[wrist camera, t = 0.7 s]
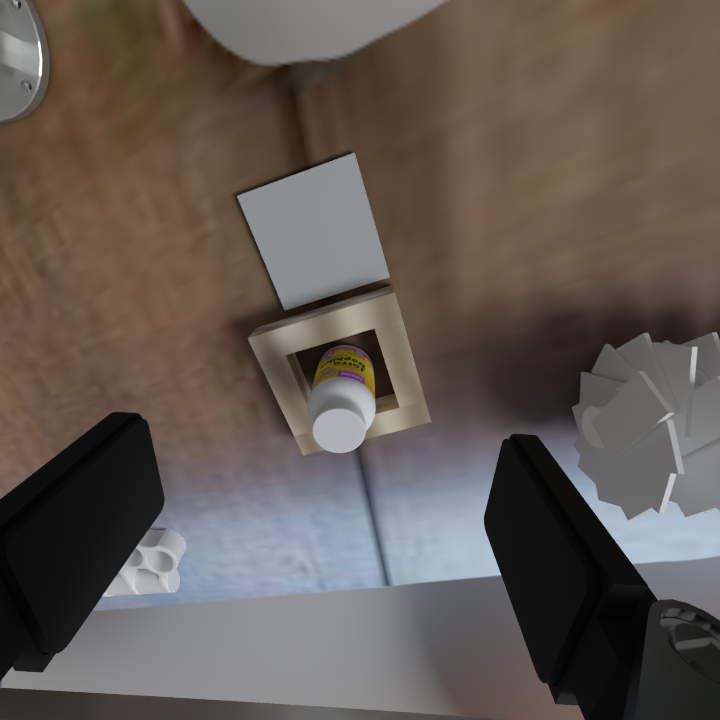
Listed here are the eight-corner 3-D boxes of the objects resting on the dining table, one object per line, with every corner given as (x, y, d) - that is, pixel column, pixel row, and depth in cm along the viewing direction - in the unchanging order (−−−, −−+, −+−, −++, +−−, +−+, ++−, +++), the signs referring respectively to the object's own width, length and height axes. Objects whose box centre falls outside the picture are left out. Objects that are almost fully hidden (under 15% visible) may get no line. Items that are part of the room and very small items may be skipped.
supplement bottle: (373, 343, 41) (379, 398, 29) (372, 393, 44) (377, 462, 32) (316, 342, 41) (298, 398, 29) (318, 392, 44) (303, 462, 32)
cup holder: (307, 438, 46) (303, 455, 43) (256, 327, 40) (247, 338, 37) (426, 406, 44) (431, 422, 41) (391, 284, 38) (394, 292, 35)
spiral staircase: (709, 393, 48) (528, 403, 47) (840, 288, 35) (592, 301, 34) (834, 538, 36) (595, 555, 36) (1108, 465, 23) (734, 490, 22)
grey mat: (285, 309, 39) (284, 310, 39) (238, 196, 35) (236, 195, 34) (389, 276, 38) (389, 277, 37) (354, 153, 33) (354, 152, 33)
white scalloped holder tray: (96, 584, 59) (58, 519, 53) (202, 577, 58) (175, 511, 52) (82, 604, 56) (40, 539, 50) (193, 598, 55) (163, 531, 49)
